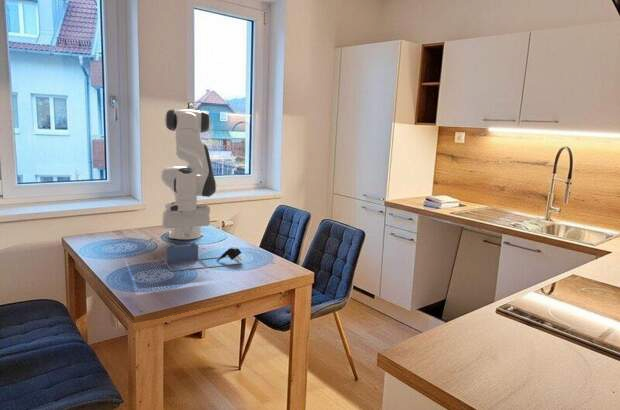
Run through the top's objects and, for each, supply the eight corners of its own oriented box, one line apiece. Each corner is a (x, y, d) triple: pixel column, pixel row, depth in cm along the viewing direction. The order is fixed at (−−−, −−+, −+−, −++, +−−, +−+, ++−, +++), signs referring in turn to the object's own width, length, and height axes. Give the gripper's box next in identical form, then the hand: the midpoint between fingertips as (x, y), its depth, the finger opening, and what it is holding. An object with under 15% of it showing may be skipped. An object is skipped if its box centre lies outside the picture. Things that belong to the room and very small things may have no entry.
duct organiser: (163, 261, 201) (163, 244, 200) (231, 255, 217) (231, 239, 215) (170, 271, 188) (170, 252, 187) (242, 264, 203) (242, 246, 202)
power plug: (218, 258, 208) (236, 243, 206) (228, 270, 208) (246, 256, 205) (213, 261, 203) (232, 246, 200) (223, 274, 203) (242, 259, 200)
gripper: (207, 203, 202) (207, 233, 204) (161, 205, 192) (161, 236, 194) (211, 205, 196) (211, 236, 198) (164, 207, 186) (164, 239, 188)
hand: (186, 236), depth 196 cm, fingers closed
